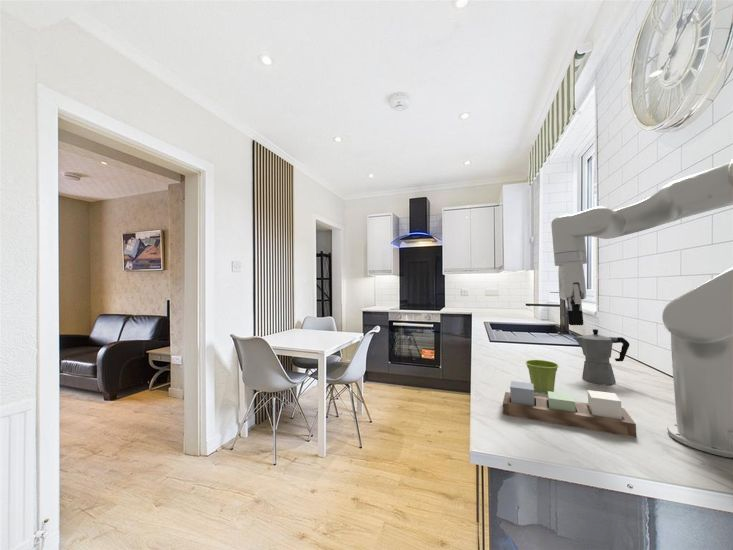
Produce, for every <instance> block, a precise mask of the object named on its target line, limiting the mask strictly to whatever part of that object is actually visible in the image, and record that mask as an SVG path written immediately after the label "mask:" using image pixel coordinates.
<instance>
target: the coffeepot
mask: <svg viewBox="0 0 733 550" xmlns="http://www.w3.org/2000/svg"><path fill="white" fill-rule="evenodd" d="M592 332H593V334H587V335H580V336H579V335H578V336H574V337H572V339H573V340H575V341H576V343H578V345H579V346H580V348H581V349H582V353H583V356H584V357H585V360H584V363H583V371H582V375H581V379H583V380H584V381H585V382H588V383H591V382H592V384H597V385H603V384H611V385H615V383H616V378H615V374H614V370H613V367H612V363H611V362H610V358H611V357H612V352H613V344H619V343H621V344H622V346H621V349H620V351H619V357H618V358H614V360H615V361H616V362H623V361H624V360H625V357H626V355H627V353H628V350H629V348H630V342H629V341H628V340H626V339H625V337H619V336H617V337H616V336H615V337H614V336H604V335H601V334H599V329H596V328H594V329H592Z"/></svg>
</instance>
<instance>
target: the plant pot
mask: <svg viewBox="0 0 733 550" xmlns="http://www.w3.org/2000/svg"><path fill="white" fill-rule="evenodd" d="M524 362H525V364H526V367H527V369H528V374H529V378H530V379H529V380H530V383H532V384H533V385H534V391H536V392H537V393H542V394H543V393H544V394H548V391H550V392H555V383H556V375H557V371H558V368H559V367H560V366H559V364H558V363H556V362H553V361H549V360H545V359H544V360H543V359H528V360H526V361H524Z"/></svg>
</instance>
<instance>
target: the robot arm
mask: <svg viewBox="0 0 733 550" xmlns="http://www.w3.org/2000/svg"><path fill="white" fill-rule="evenodd" d="M729 206H733V159H731V161H730V162H727V163H724V164H721V165H719V166H716V167H713V168H710V169H707V170H703V171H700V172H698V173H695V174H692V175H688V176H686V177H683V178H679V179H677V180H674V181H671V182H669V183H668V184H666V185H664V186H663V187H661V188H660V189H659V190H658V191H656V192H655V193H654V194H652V195H651V196H649V197H647V198H646V199H643V200H641V201H639V202H636V203H634V204H630V205H628V206H625V207H624V206H623V207H620V208H617V209H615V210H612V209H610V208H609V207H605V206H596V207H593V208H588V209H586V210H584V211H580V212H577V213H574V214H565V215H562V216H558V217H555V218H554V219H553V220H552V221H551V225H550V226H551V235H552V236H551V237H552V239H551V240H552V247H553V248H552V249H553V250H552V251H553V258H554V259H553V260H554V266H555V267H558V276H557V277H558V294H559V296H558V297H559V299H561V300H562V301H563V300H564V301H566V306H567V311H566V312H567V323H568V325H570V326H583V325H584V314H583V308H582V307H583V305H582V304H583V303H582V300H584V299H586V297H587V287H586V278H585V271H584V264H588V258H587V256H588V255H587V247H586V246H587V244H586V237H590V238H591V237H594V238H599V239H604V240H608V239H615V238H618V237H624V236H628V235H631V234H634V233H639V232H643V231H647V230H649V229H654V228H655V227H659V226H662V225H665V224H669V223H672V222H676V221H678V220H681V219H684V218H688V217H692V216H695V215H699V214H702V213H703V214H704V213H706V212H710V211H714V210H717V209H722V208H725V207H729ZM661 318H662V323H663V325H664V327H665V328H666V329H667V331H668V332H669V333H670V350H671V363H672V364H671V366H672V378H673V380H672V381H673V388H674V389H673V391H674V393H673V394H674V403H675V404H674V405H675V415H676V417H675V418H676V423H673V424H669V425H667V428H666V429H667V433H668V435H669V436H670V437H672V439H674V440H676V441H677V442H679V443H681V444H683V445H686V446H688V447H690V448H691V449H692V448H693V449H696V450H698V451H701V452H705V453H708V454H713V455H716V456H719V457H724V458H730V459H733V267H731V268H728V269H727V270H725V271H724V272H721V273H719V275H716V276H714V277H713V278H711V279H709V280H707V281H706V282H704V283H702V284H700V285H698V286H696V287H694V288H693V289H691V290H689V291H687V292H685V293H684V294H682V295H680V296H678V297H676V298H674V299H673V300H671V301H670V302H669V303H668V304H666V306H665V307H664V309H663V311H662V317H661Z"/></svg>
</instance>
